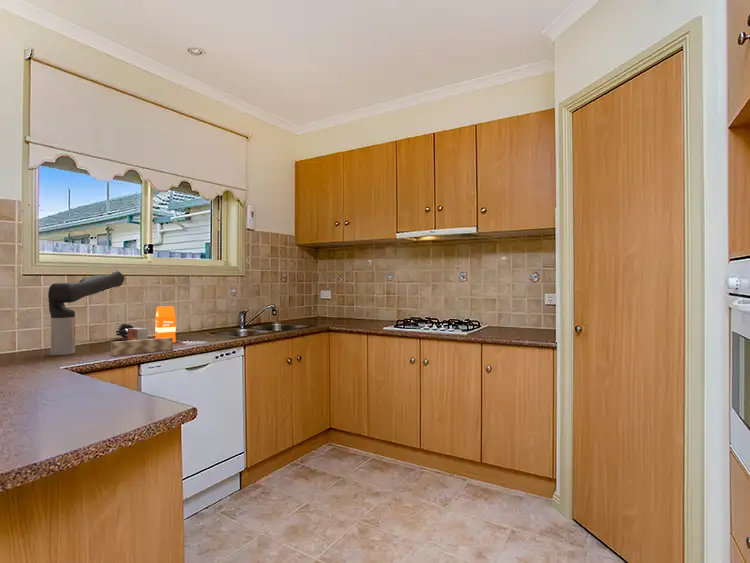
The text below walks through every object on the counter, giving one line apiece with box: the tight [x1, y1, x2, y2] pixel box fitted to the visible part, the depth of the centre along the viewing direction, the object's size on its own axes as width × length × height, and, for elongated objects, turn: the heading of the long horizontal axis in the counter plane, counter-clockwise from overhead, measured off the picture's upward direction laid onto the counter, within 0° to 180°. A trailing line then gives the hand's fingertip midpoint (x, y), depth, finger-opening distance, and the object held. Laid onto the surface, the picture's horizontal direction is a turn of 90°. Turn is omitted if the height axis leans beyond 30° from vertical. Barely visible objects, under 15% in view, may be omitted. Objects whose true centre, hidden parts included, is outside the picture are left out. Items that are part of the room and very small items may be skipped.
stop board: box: [110, 337, 174, 357], centre depth 204 cm, size 26×3×6 cm, turn 129°
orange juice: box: [154, 305, 177, 343], centre depth 238 cm, size 8×9×20 cm
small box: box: [127, 327, 149, 341], centre depth 213 cm, size 8×6×10 cm
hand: (131, 333), depth 226 cm, fingers closed
